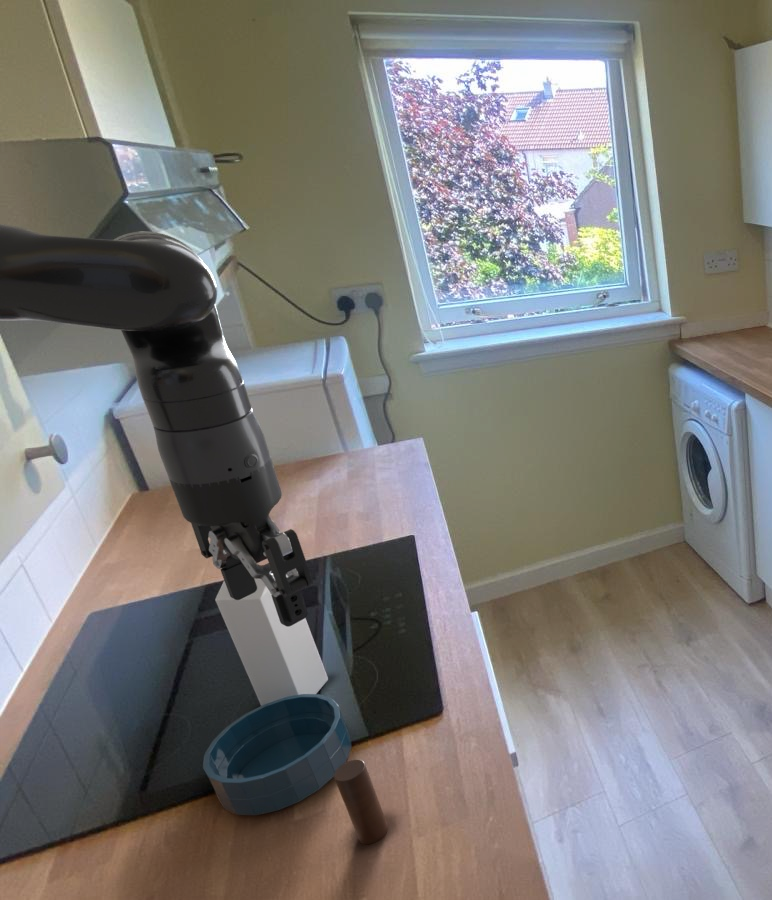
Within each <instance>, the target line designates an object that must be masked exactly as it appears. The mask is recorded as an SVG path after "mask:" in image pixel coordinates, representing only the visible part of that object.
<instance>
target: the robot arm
mask: <svg viewBox="0 0 772 900" xmlns="http://www.w3.org/2000/svg"><path fill="white" fill-rule="evenodd" d="M217 299H218V285H217V282H216V279H215V276H214V274H213V273H212V271H211V269H210V268H209V267H208V266H207V264H206V263H205V262H204V261H203V259H202V258H201V257H200V256H199V254H198V253H196V251H194V250H193V248H191V247H190V246H189V245H187V244H186V243H184V241H181V240H179V239H178V238H175V237H173V236H170V235H168V234H164V233H161V232H155V231H147V230H146V231H140V230H139V231H133V232H128V233H124V234H122V235H119V236H117V237H115V238H114V239H103V238H92V237H78V236H77V237H76V236H63V235H50V234H44V233H39V232H36V231H34V230H31V229H28V228H24V227H22V226H17V225H11V224H3V223H0V322H3V321H4V322H12V321H14V322H15V321H17V322H18V321H38V322H49V323H57V324H63V325H71V326H78V327H79V326H80V327H86V328H87V327H88V328H97V329H98V328H99V329H108V330H115V331H116V330H117V331H120V332H121V333H122V336H123V338H124V340H125V342H126V345H127V346H128V350H129V352H130V354H131V357H132V360H133V365H134V370H135V371H134V372H135V377H136V382H137V386H138V389H139V391H140V395H141V398H142V401H143V404H144V407H145V408H146V411H147V415H148V417H149V419H150V422H151V425H152V428H153V431H154V434H155V439H156V446H157V450H158V454H159V456H160V459H161V461H162V464H163V467H164V469H165V472H166V476H167V477H168V481H169V483H170V486H171V488H172V491H173V493H174V496H175V498H176V502H177V504H178V507H179V509H180V512H181V514H182V516H183V518H184V519H185V520H186V521H187V522H189V523H190V524H191V527H192V530H193V533H194V536H195V539H196V541H197V545H198V548H199V551H200V554H201V555H202V557H204V559H210V558H212V559H211V560H212V564H213V566H214V567H215V568H216V569H218V570H220V572H221V573H220V574H221V575H222V578H223V582H224V581H225V584H226V586H227V589H228V592H229V595H230V597H231V598H233V599H235V600H240V599H242V598H244V597H246V596H248V595H250V594H253V593H254V592H255V591H256V590H257V585H256V582H255V579H254V578H256V579H261V580H262V581H263V582H264V584H265V585H266V587H267V588H268V590H269V591H270V593H271V594H272V595H271V596H272V599H273V602H274V605H275V608H276V611H277V614H278V617H279V620H280V622H281V624H283V625H285V626H287V627H289V626H292V625H294V624H295V623H297V622H299V621H301V620H303V619H304V618H306V619H307V616H308V614H309V612H308V609H307V606H306V602H305V599H304V597H303V594H302V590H303V589H305V588H307V587H309V586H311V585H313V584H314V580H313V578H312V574H311V571H310V568H309V566H308V563H307V560H306V557H305V554H304V551H303V548H302V546H301V543H300V540H299V539H300V538H299V537H298V534H297V532H296V531H295V530H294V529H292V528H289V529H288V530H286V531H283V532H281V530H280V529H279V527H278V526H277V524H276V522H275V521H274V520H273V519H272V518H271V516H270V513H271V511H272V510H273V508H274V507H275V506H276V505H277V504H278V503H279V502H280V500H281V499H282V494H283V492H282V489H281V485H280V482H279V478H278V475H277V472H276V470H275V467H274V463H273V460H272V457H271V456H272V455H271V454H270V450H269V446H268V443H267V441H266V436H265V433H264V432H263V429H262V427H261V424H260V422H259V420H258V418H257V417H256V415H255V412H254V410H253V407H252V403H251V399H250V397H249V393H248V390H247V387H246V385H245V381H244V378H243V375H242V371H241V370H240V367H239V365H238V363H237V361H236V359H235V357H234V356H233V354H232V352H231V350H230V348H229V347H228V344H227V342H226V338H225V335H224V332H223V327H222V325H221V321H220V317H219V313H218V310H217V306H216V302H217ZM209 539H210V540H209ZM265 560H267V562H268V563H265V564H258V563H261V562H264V561H265ZM272 573H273V575H274V578H275V579H274V578H273V577H272V575H271V574H272ZM286 574H287V576H288V577H286Z"/></svg>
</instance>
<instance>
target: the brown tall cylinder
mask: <svg viewBox="0 0 772 900" xmlns="http://www.w3.org/2000/svg"><path fill="white" fill-rule="evenodd" d="M333 778H334V780H335V783H336V786H337V789H338V791H339V793H340V795H341V798H342V801H343V804H344V806H345V808H346V811H347V813H348V816H349V818H350V821H351V824H352V825H353V829H354V831H355V834H356V836H357V838H358V841H359V842H360V843H361V844H363V845H372V844H374V843H376V842H378V841H379V840H381V839H383V837H384V836H385V835H386V833H388V830H389V824H388V822H387V819H386V816H385V814H384V811H383V808H382V806H381V803H380V800H379V797H378V795H377V792H376V790H375V787H374V784H373V781H372V779H371V777H370V773H369V770H368V768H367V765H366V763H365V762H364V760H362V759H351V760H349V761H348V760H347V761H346V762H345V763H344V764H343V765H341V766H340V767H339V768H338V769H337V770H336V772H335V774H334V777H333Z"/></svg>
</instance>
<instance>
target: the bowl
mask: <svg viewBox="0 0 772 900" xmlns="http://www.w3.org/2000/svg"><path fill="white" fill-rule="evenodd" d="M351 751H352V738H351V734H350V732H349V729H348V727H347V724H346V721H345V718H344V716H343V713H342V710H341V708H340V706H339V704H338V703H337V702H336V701H335V700H334V699H333V698H332V697H329V696H326V695H323V694H320V693H317V694H300V695H295V696H289V697H284V698H281V699H278V700H276V701H273V702H270V703H267V704H264V705H262V706H261V705H260V706H258V707H256V708H255V709H252V710H251V711H248V712H246V713H244V714H243V715H241V716H240V717H239V718H237V719H236V720H234V721H233V722H231V723H230V724H229V725H227V726H226V727H225V728H224V729H223V730H222V731H221V732H219V733H218V735H217V736H216V737H215V738H214V739H212V741H211V743H210V744H209V746H208V748H207V750H206V751H205V753H204V755H203V763H202V769H203V771H204V773H205V776H206V778H207V779H208V781H209V783H210V785H211V787H212V790H213V792H214V794H215V795H216V797H217V799H218V801H219V803H220V804H221V806H222V807H223V809H224V810H226V811H228V812H230V813H231V814H235V815H238V816H259V815H263V814H264V815H265V814H268V813H269V814H270V813H273V812H278V811H281V810H282V809H285V808H287V807H290V806H293V805H295V804H297V803H299V802H301V801H303V800H305V799H306V798H308V797H310V796H311V795H313V794H314V793H316V792H318V791H319V790H320V789H321V788H323V787H324V786H325V785H326V784H328V783H329V782H330V781H331V780H332V779H333V778H334V774H335V772H336V770H337V769H338V768H339V767H340V766H341V765H343V764H344V763H346V762H348V759H349V756H350V753H351Z"/></svg>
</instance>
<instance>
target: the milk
mask: <svg viewBox="0 0 772 900" xmlns="http://www.w3.org/2000/svg"><path fill="white" fill-rule="evenodd" d="M270 574H271V575H272V577H273V578H274V575H273V573H272V572H271V573H270ZM286 577H288V576H287V574H286ZM254 579H255V582H256V585H257V590H256V591H255V592H254V593H253V594H250V595H248V596H246V597H244V598H242V599H240V600H235V599H233V598H231V597H230V595H229V592H228V589H227V586H226V584H225V581H224V580H223V582H222V584H221V586H220V588H219V590H218V591H217V594H216V597H215V599H214V600H215V604H216V605H217V608H218V610H219V612H220V615H221V617H222V620H223V621H224V624H225V626H226V628H227V631H228V633H229V635H230V638H231V640H232V642H233V645H234V647H235V649H236V651H237V654H238V656H239V658H240V661H241V664H242V665H243V668H244V670H245V672H246V675H247V676H248V679H249V681H250V684H251V686H252V688H253V691H254V693H255V695H256V698H257V700H258V702H259V705H260V706H262V705H264V704H267V703H270V702H273V701H276V700H278V699H281V698H284V697H289V696H295V695H300V694H318V693H319V691H320V690H321V689H322V687H324V685H326V683H327V682H328V681H329V677H328V674H327V672H326V669H325V666H324V664H323V661H322V658H321V655H320V654H319V650H318V647H317V645H316V643H315V642H316V641H315V640H314V637H313V634H312V632H311V629H310V626H309V624H308V622H307V617H306V618H304V619H303V620H301V621H299V622H297V623H295V624H294V625H292V626H289V627H287V626H285V625H283V624H281V622H280V620H279V617H278V614H277V611H276V608H275V605H274V602H273V599H272V596H271V595H272V594H271V593H270V591H269V590H268V588H267V587H266V585H265V584H264V582H263V581H262V580H261V579H256V578H254ZM274 579H275V578H274Z"/></svg>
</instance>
